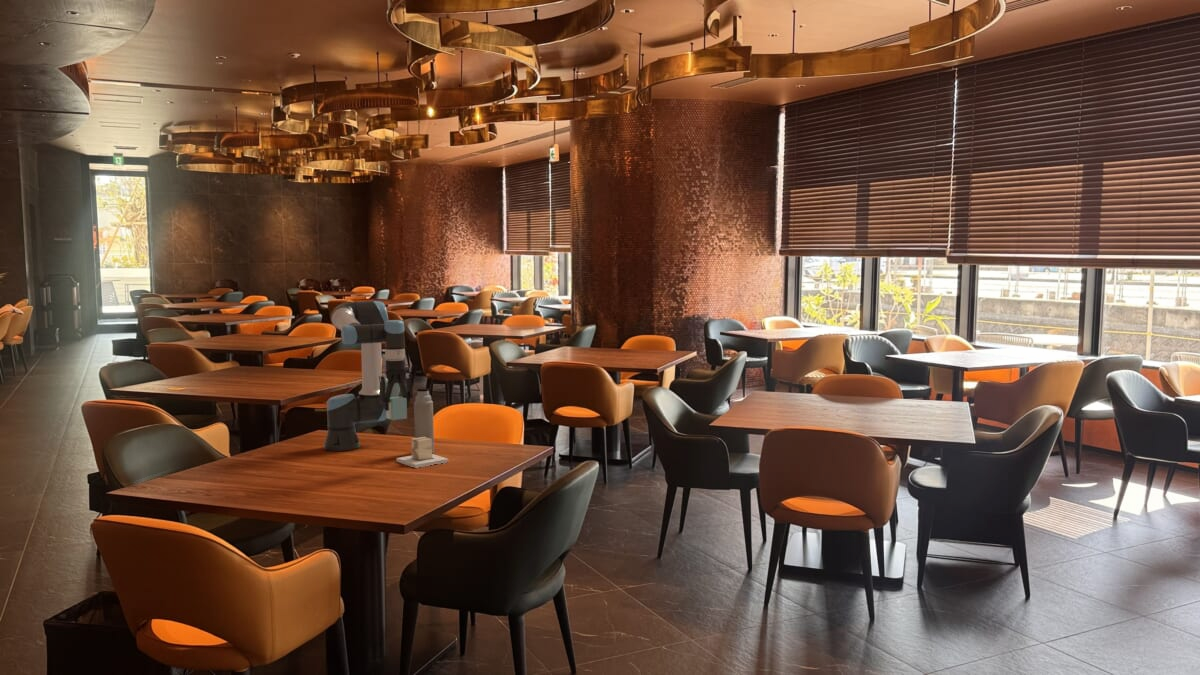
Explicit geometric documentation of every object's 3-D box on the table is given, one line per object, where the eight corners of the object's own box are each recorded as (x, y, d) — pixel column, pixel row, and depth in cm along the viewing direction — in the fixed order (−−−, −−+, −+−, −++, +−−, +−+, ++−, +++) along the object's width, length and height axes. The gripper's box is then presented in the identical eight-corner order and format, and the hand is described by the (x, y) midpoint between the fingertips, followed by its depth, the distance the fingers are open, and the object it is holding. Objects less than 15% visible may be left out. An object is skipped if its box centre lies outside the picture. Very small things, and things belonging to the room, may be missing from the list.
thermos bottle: (435, 450, 391) (434, 387, 388) (431, 454, 383) (430, 389, 380) (417, 450, 391) (415, 387, 388) (413, 454, 383) (411, 389, 380)
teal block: (386, 417, 357) (385, 398, 356) (399, 416, 361) (399, 396, 360) (393, 420, 352) (392, 400, 351) (406, 418, 356) (406, 398, 355)
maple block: (411, 457, 370) (411, 438, 369) (424, 455, 373) (424, 436, 373) (419, 460, 365) (418, 440, 364) (432, 458, 369) (431, 438, 368)
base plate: (396, 461, 370) (396, 457, 370) (428, 456, 380) (428, 452, 380) (415, 468, 358) (415, 464, 358) (448, 462, 368) (448, 458, 368)
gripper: (377, 362, 345) (378, 421, 347) (421, 358, 357) (422, 416, 359) (368, 360, 351) (370, 419, 353) (412, 356, 363) (413, 413, 365)
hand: (396, 417), depth 356 cm, fingers closed on teal block, 6 cm apart
